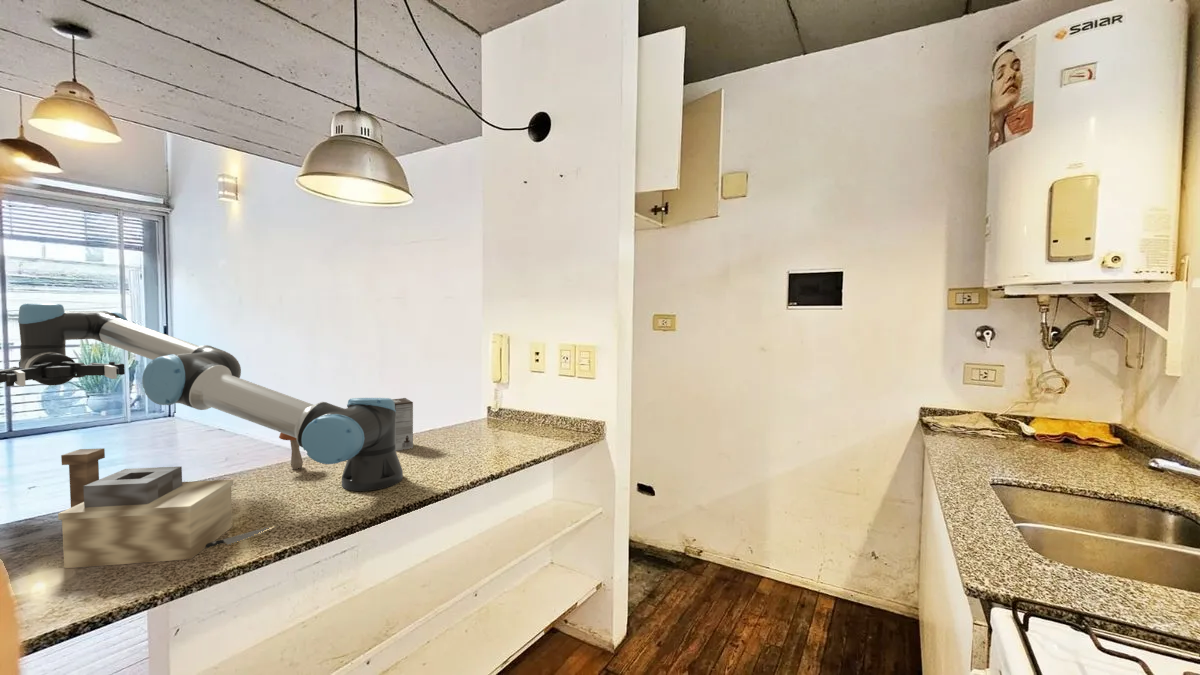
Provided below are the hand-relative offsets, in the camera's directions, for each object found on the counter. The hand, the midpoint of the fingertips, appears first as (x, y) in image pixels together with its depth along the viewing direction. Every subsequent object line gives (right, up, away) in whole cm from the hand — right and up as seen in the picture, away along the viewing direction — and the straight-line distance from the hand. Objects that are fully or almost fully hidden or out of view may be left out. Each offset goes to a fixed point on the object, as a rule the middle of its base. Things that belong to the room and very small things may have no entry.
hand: (70, 375), depth 106 cm
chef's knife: (+41, -33, -6) cm, 53 cm away
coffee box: (+46, -29, +62) cm, 83 cm away
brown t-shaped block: (+7, -32, -4) cm, 33 cm away
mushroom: (+25, -30, +38) cm, 55 cm away
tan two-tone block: (+27, -33, -9) cm, 43 cm away
